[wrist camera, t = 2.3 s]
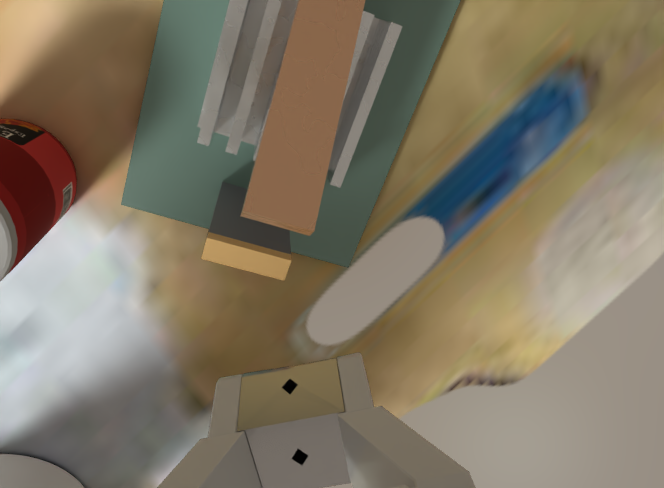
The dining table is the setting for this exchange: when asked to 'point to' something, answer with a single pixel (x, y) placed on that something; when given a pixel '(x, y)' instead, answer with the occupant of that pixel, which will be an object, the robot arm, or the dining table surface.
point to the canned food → (30, 188)
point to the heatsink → (262, 71)
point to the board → (235, 170)
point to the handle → (304, 116)
